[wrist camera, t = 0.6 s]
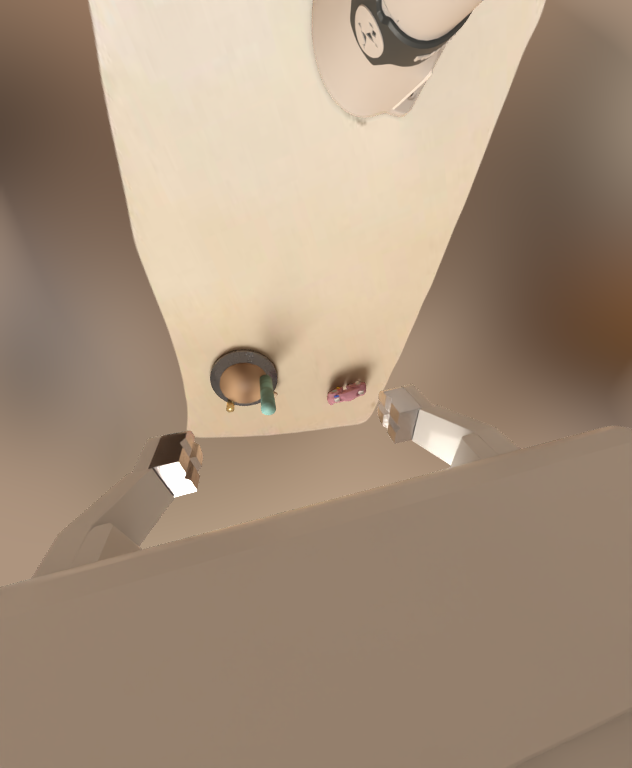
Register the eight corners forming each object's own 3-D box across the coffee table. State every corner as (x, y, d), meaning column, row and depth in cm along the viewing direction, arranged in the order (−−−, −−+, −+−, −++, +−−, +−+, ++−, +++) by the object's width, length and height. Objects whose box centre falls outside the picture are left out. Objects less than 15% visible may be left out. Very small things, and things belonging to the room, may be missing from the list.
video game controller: (359, 376, 63) (367, 380, 56) (363, 393, 63) (372, 398, 57) (323, 388, 62) (327, 392, 55) (327, 404, 63) (332, 411, 56)
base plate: (234, 336, 48) (233, 340, 47) (289, 371, 55) (290, 374, 54) (198, 385, 52) (196, 390, 51) (253, 411, 59) (253, 415, 58)
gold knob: (229, 396, 54) (228, 405, 52) (236, 400, 55) (235, 408, 53) (225, 401, 55) (224, 410, 52) (232, 404, 56) (231, 413, 53)
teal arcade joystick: (231, 409, 55) (228, 445, 47) (212, 369, 49) (204, 402, 40) (278, 397, 56) (284, 430, 48) (265, 356, 50) (269, 385, 41)
